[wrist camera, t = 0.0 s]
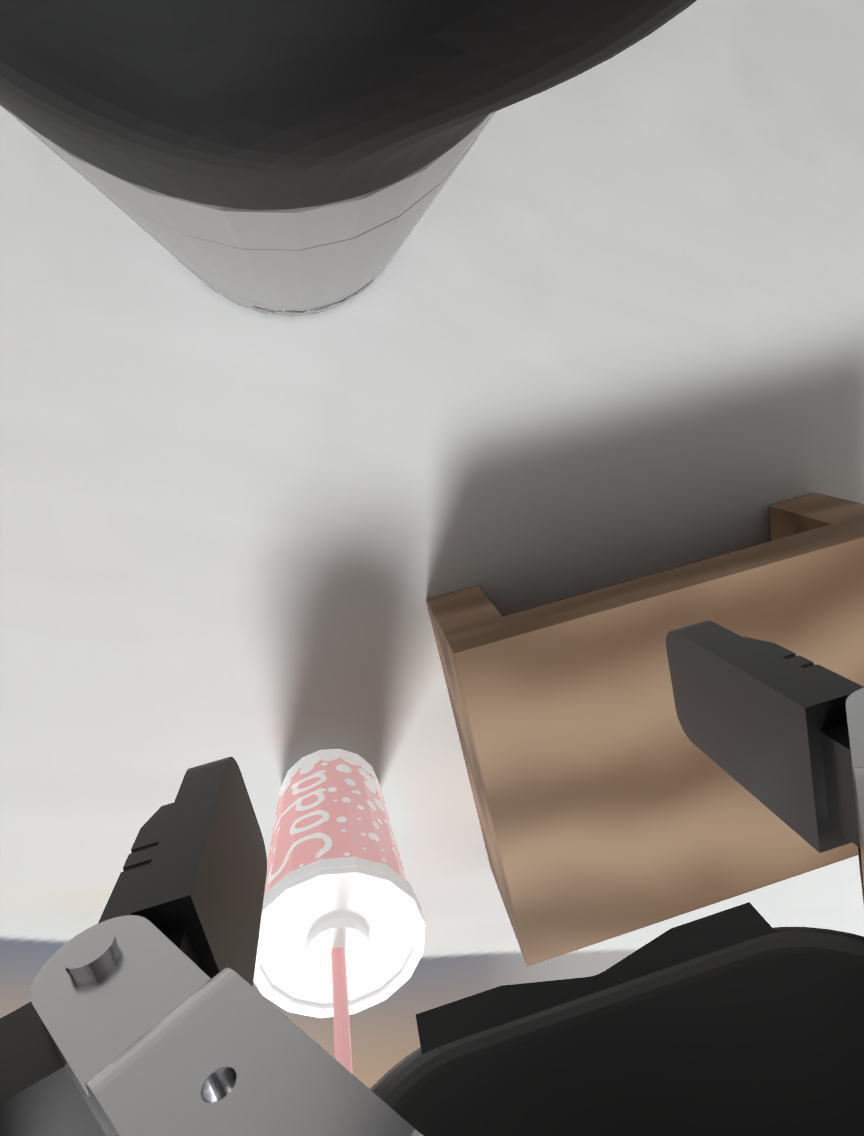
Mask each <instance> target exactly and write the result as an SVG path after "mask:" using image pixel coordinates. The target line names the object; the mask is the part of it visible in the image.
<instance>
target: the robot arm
mask: <svg viewBox="0 0 864 1136" xmlns="http://www.w3.org/2000/svg"><path fill="white" fill-rule="evenodd" d="M695 1H696V0H0V105H1V106H2V107H3V108H4V109H5V110H6V111H7V112H9V113H10V114H11V115H12V116H13V117H14V118H15V119H17V120H18V121H19V122H20V123H21V124H22V125H23V126H25V127H26V128H27V129H28V130H29V131H30V132H32V133H33V134H34V135H35V136H36V137H37V138H38V139H40V140H41V141H42V142H43V143H44V144H45V145H46V146H48V147H49V148H50V149H51V150H52V151H53V152H54V153H56V154H57V155H58V156H59V157H60V158H61V159H63V160H64V161H65V162H66V163H67V164H68V165H69V166H71V167H72V168H73V169H74V170H75V171H77V172H78V173H80V174H81V175H82V176H83V177H84V178H85V179H87V180H88V181H89V182H90V183H91V184H92V185H93V186H95V187H96V188H97V189H98V190H99V191H100V192H101V193H103V194H104V195H105V196H106V197H107V198H108V199H109V200H111V201H112V202H113V203H114V204H115V205H116V206H117V207H119V208H120V209H121V210H122V211H123V212H124V213H125V214H127V215H128V216H129V217H130V218H131V219H132V220H133V221H135V222H136V223H137V224H138V225H139V226H140V227H141V228H143V229H144V230H145V231H146V232H147V233H148V234H149V235H151V236H152V237H153V238H154V239H155V240H156V241H157V242H159V243H160V244H161V245H162V246H163V247H164V248H165V249H167V250H168V251H169V252H170V253H171V254H172V255H173V256H175V257H176V258H177V259H178V260H179V261H180V262H181V263H182V264H183V265H185V266H186V267H187V268H188V269H190V270H191V271H192V272H193V273H195V274H196V275H197V276H198V277H199V278H200V279H202V280H203V281H204V282H205V283H206V284H207V285H208V286H210V287H211V288H212V289H213V290H214V291H216V292H218V293H220V294H221V295H223V296H225V297H226V298H228V299H230V300H232V301H233V302H235V303H237V304H239V305H242V306H245V307H248V308H251V309H254V310H256V311H259V312H262V313H267V314H276V315H285V316H297V315H307V314H316V313H319V312H322V311H325V310H328V309H331V308H334V307H337V306H339V305H342V304H343V303H345V302H346V301H348V300H350V299H351V298H353V297H354V296H356V295H358V294H359V293H361V292H362V291H363V290H364V289H365V288H366V287H367V286H368V285H370V284H371V283H372V282H373V280H374V279H375V278H376V277H377V276H378V275H379V274H380V273H381V272H382V271H383V269H384V268H385V266H386V265H387V263H388V262H389V261H390V259H391V258H392V257H393V256H394V254H395V253H396V252H397V250H398V249H399V247H400V246H401V245H402V243H403V242H404V240H405V239H406V238H407V236H408V235H409V233H410V232H411V231H412V229H413V228H414V226H415V225H416V224H417V222H418V221H419V219H420V218H421V217H422V215H423V214H424V212H425V211H426V210H427V208H428V207H429V205H430V204H431V203H432V201H433V200H434V198H435V197H436V196H437V194H438V193H439V191H440V190H441V189H442V187H443V186H444V184H445V183H446V182H447V180H448V179H449V177H450V176H451V175H452V173H453V172H454V170H455V169H456V168H457V166H458V165H459V163H460V162H461V161H462V159H463V158H464V156H465V155H466V154H467V152H468V151H469V149H470V148H471V147H472V145H473V144H474V142H475V141H476V140H477V138H478V136H479V134H480V133H481V132H482V130H483V129H484V127H485V126H486V125H487V123H488V122H489V120H490V119H491V117H492V116H493V115H494V113H495V112H496V111H498V110H500V109H502V108H505V107H507V106H510V105H512V104H514V103H517V102H519V101H522V100H524V99H526V98H529V97H531V96H534V95H536V94H538V93H541V92H543V91H545V90H547V89H549V88H552V87H554V86H556V85H558V84H560V83H562V82H565V81H567V80H569V79H571V78H573V77H575V76H577V75H579V74H581V73H583V72H585V71H587V70H589V69H591V68H593V67H595V66H596V65H598V64H600V63H602V62H604V61H606V60H608V59H610V58H612V57H613V56H615V55H617V54H618V53H620V52H622V51H623V50H625V49H627V48H628V47H630V46H631V45H633V44H635V43H636V42H638V41H640V40H641V39H643V38H645V37H646V36H648V35H649V34H651V33H652V32H654V31H655V30H656V29H658V28H659V27H661V26H662V25H664V24H665V23H666V22H668V21H669V20H671V19H672V18H673V17H675V16H676V15H678V14H679V13H680V12H682V11H683V10H685V9H686V8H688V7H689V6H690V5H691V4H693V3H694V2H695ZM666 650H667V656H668V663H669V669H670V676H671V682H672V688H673V695H674V701H675V708H676V713H677V716H678V719H679V722H680V724H681V727H682V729H683V731H684V732H685V734H686V735H687V737H688V738H689V740H690V741H691V742H692V743H693V744H694V745H695V746H697V747H698V748H699V749H700V750H701V751H702V752H704V753H705V754H706V755H707V756H708V757H709V758H710V759H712V760H713V761H714V762H715V763H716V764H717V765H719V766H720V767H721V768H722V769H723V770H724V771H725V772H727V773H728V774H729V775H730V776H731V777H732V778H734V779H735V780H736V781H737V782H738V783H739V784H741V785H742V786H743V787H744V788H745V789H746V790H747V791H749V792H750V793H751V794H752V795H753V796H754V797H756V798H757V799H758V800H759V801H760V802H761V803H762V804H764V805H765V806H766V807H767V808H768V809H769V810H771V811H772V812H773V813H774V814H775V815H776V816H777V817H779V818H780V819H781V820H782V821H783V822H784V823H786V824H787V825H788V826H789V827H790V828H791V829H792V830H794V831H795V832H796V833H797V834H798V835H799V836H801V837H802V838H803V839H804V840H805V841H806V842H807V843H809V844H810V845H811V846H812V847H813V848H814V849H816V850H817V851H818V852H819V853H822V852H825V851H828V850H831V849H834V848H837V847H840V846H843V845H846V844H849V843H852V842H853V843H854V844H855V845H856V846H858V855H859V866H860V876H861V886H862V895H863V904H864V687H863V686H861V685H859V684H857V683H855V682H853V681H851V680H849V679H847V678H845V677H843V676H841V675H839V674H837V673H835V672H833V671H831V670H829V669H826V668H824V667H822V666H820V665H818V664H817V665H814V663H813V662H812V661H810V660H808V659H806V658H804V657H802V656H800V655H799V656H796V654H795V653H794V652H792V651H790V650H788V649H786V648H783V647H781V646H779V645H777V644H775V643H772V642H768V641H763V640H758V639H753V638H748V637H742V636H740V635H738V634H736V633H734V632H732V631H730V630H728V629H726V628H724V627H722V626H720V625H718V624H716V623H714V622H712V621H708V620H707V621H704V622H700V623H697V624H693V625H690V626H686V627H683V628H679V629H676V630H672V631H670V632H668V634H667V637H666ZM131 851H132V853H131V854H129V856H128V858H127V860H126V862H125V865H124V867H123V870H124V872H121V874H120V876H119V878H118V880H117V882H116V885H115V887H114V889H113V891H112V894H111V896H110V898H109V900H108V903H107V905H106V907H105V909H104V912H103V914H102V916H101V918H100V920H99V923H98V924H96V925H94V926H92V927H90V928H88V929H87V930H85V931H83V932H82V933H80V934H78V935H77V936H75V937H74V938H72V939H71V940H70V941H68V942H67V943H66V944H64V945H63V946H62V947H61V948H60V949H59V950H57V951H56V952H55V953H54V954H53V955H52V956H51V957H50V958H49V959H48V961H47V962H46V963H45V964H44V965H43V967H42V968H41V970H40V971H39V973H38V974H37V975H36V977H35V980H34V982H33V984H32V987H31V991H30V999H31V1002H29V1003H28V1004H26V1005H24V1006H22V1007H21V1008H19V1009H17V1010H16V1011H14V1012H12V1013H10V1014H8V1015H6V1016H4V1017H2V1018H1V1019H0V1136H864V937H862V936H859V935H855V934H851V933H846V932H840V931H834V930H829V929H820V928H809V927H777V928H772V927H771V926H770V925H769V924H768V923H767V922H766V920H765V919H764V918H763V917H762V916H761V915H760V914H759V913H758V911H757V910H756V909H755V908H754V907H753V906H752V905H751V904H750V902H749V903H746V904H743V905H740V906H737V907H734V908H731V909H728V910H725V911H722V912H719V913H716V914H713V915H710V916H707V917H704V918H701V919H698V920H695V921H692V922H689V923H686V924H683V925H680V926H678V927H675V928H672V929H670V930H668V931H666V932H665V933H663V934H662V935H660V936H659V937H657V938H656V939H654V940H652V941H651V942H649V943H648V944H646V945H645V946H643V947H642V948H640V949H638V950H637V951H635V952H634V953H632V954H631V955H629V956H628V957H626V958H624V959H623V960H621V961H620V962H618V963H617V964H615V965H613V966H612V967H610V968H609V969H607V970H606V971H604V972H602V973H600V974H598V975H595V976H591V977H585V978H575V979H566V980H555V981H545V982H536V983H527V984H526V983H525V984H515V985H505V986H500V987H496V988H494V989H491V990H488V991H485V992H482V993H479V994H476V995H473V996H470V997H467V998H464V999H461V1000H458V1001H455V1002H452V1003H449V1004H446V1005H443V1006H440V1007H437V1008H434V1009H431V1010H428V1011H425V1012H422V1013H419V1014H416V1019H417V1025H418V1032H419V1038H420V1045H421V1047H420V1048H418V1049H417V1050H415V1051H414V1052H412V1053H411V1054H409V1055H408V1056H406V1057H405V1058H404V1059H403V1060H401V1061H400V1062H399V1063H398V1064H396V1065H395V1066H394V1067H393V1068H391V1069H390V1070H389V1071H388V1072H387V1073H386V1074H385V1075H384V1076H383V1077H382V1078H381V1079H380V1080H379V1081H378V1082H377V1083H376V1084H375V1085H374V1086H373V1087H372V1088H371V1089H369V1088H368V1087H367V1086H365V1085H364V1084H363V1083H362V1082H361V1081H360V1080H359V1079H357V1078H356V1077H355V1076H354V1075H353V1074H352V1073H351V1072H349V1071H348V1070H347V1069H346V1068H345V1067H344V1066H343V1065H341V1064H340V1063H339V1062H338V1061H337V1060H336V1059H335V1058H333V1057H332V1056H331V1055H330V1054H329V1053H328V1052H327V1051H325V1050H324V1049H323V1048H322V1047H321V1046H320V1045H319V1044H317V1043H316V1042H315V1041H314V1040H313V1039H312V1038H311V1037H309V1036H308V1035H307V1034H306V1033H305V1032H304V1031H303V1030H301V1029H300V1028H299V1027H298V1026H297V1025H296V1024H295V1023H293V1022H292V1021H291V1020H290V1019H289V1018H288V1017H287V1016H285V1015H284V1014H283V1013H282V1012H281V1011H280V1010H279V1009H277V1008H276V1007H275V1006H274V1005H273V1004H272V1003H271V1002H270V1001H268V1000H267V999H266V998H265V997H264V996H263V995H262V994H260V993H259V992H258V991H257V990H256V989H255V988H254V987H253V981H254V973H255V964H256V956H257V948H258V940H259V932H260V924H261V916H262V908H263V900H264V892H265V883H266V875H267V858H266V851H265V845H264V841H263V837H262V833H261V830H260V827H259V824H258V821H257V819H256V816H255V813H254V810H253V807H252V804H251V801H250V798H249V795H248V792H247V789H246V786H245V783H244V780H243V777H242V774H241V772H240V769H239V766H238V764H237V762H236V761H235V759H234V758H233V757H228V758H225V759H221V760H218V761H214V762H211V763H207V764H204V765H200V766H197V767H194V768H190V769H188V770H187V772H186V774H185V776H184V779H183V781H182V784H181V787H180V789H179V792H178V794H177V797H176V799H175V802H174V803H171V804H168V805H165V806H161V807H160V808H159V810H158V811H157V812H156V813H155V814H154V815H153V816H152V817H151V818H150V819H149V820H148V821H147V822H146V823H145V824H144V825H143V826H142V828H141V829H140V831H139V833H138V836H137V838H136V840H135V842H134V844H133V847H132V849H131Z"/></svg>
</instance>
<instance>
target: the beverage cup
mask: <svg viewBox="0 0 864 1136" xmlns="http://www.w3.org/2000/svg"><path fill="white" fill-rule="evenodd" d="M424 941H425V920H424V917H423V915H422V913H421V906H420V904H419V902H418V900H417V898H416V896H415V894H414V891H413V889H412V887H411V885H410V883H409V882H408V881H406V877H405V874H404V870H403V867H402V863H401V860H400V856H399V852H398V849H397V845H396V842H395V838H394V835H393V831H392V827H391V824H390V820H389V817H388V813H387V810H386V806H385V802H384V799H383V795H382V792H381V788H380V785H379V781H378V779H377V777H376V774H375V772H374V770H373V768H372V766H371V765H370V764H369V763H368V762H367V761H365V760H364V759H363V758H362V757H361V756H359V755H358V754H355V753H352V752H349V751H345V750H342V749H328V750H319V751H316V752H314V753H312V754H309V755H307V756H304V757H302V758H301V759H300V760H299V761H298V762H297V763H296V764H295V765H293V766H292V767H291V768H290V769H289V770H288V772H287V774H286V776H285V778H284V780H283V783H282V785H281V787H280V793H279V799H278V805H277V810H276V816H275V822H274V827H273V833H272V839H271V845H270V850H269V856H268V862H267V875H266V883H265V892H264V900H263V908H262V916H261V924H260V932H259V940H258V948H257V956H256V964H255V973H254V983H255V984H256V986H257V987H258V989H259V991H260V992H261V994H262V995H263V996H264V997H265V998H267V999H269V1000H270V1001H272V1002H273V1003H275V1004H276V1005H278V1006H280V1007H281V1008H283V1009H284V1010H286V1011H287V1012H291V1013H296V1014H302V1015H307V1016H312V1017H317V1018H325V1017H333V1016H334V1039H335V1059H336V1060H337V1061H338V1062H339V1063H340V1064H341V1065H343V1066H344V1067H345V1068H346V1069H347V1070H348V1071H349V1072H351V1073H352V1074H353V1070H352V1054H351V1038H350V1022H349V1014H355V1013H357V1012H360V1011H362V1010H364V1009H367V1008H369V1007H371V1006H373V1005H376V1004H378V1003H380V1002H382V1001H385V1000H386V999H387V998H389V997H390V996H391V995H392V994H393V993H394V992H395V991H396V990H398V989H399V988H400V987H401V986H402V985H403V984H404V983H405V982H407V980H409V979H410V977H411V976H412V974H413V972H414V969H415V968H416V966H417V964H418V962H419V960H420V958H421V957H422V955H423V953H424Z"/></svg>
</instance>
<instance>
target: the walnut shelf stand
mask: <svg viewBox="0 0 864 1136" xmlns="http://www.w3.org/2000/svg"><path fill="white" fill-rule="evenodd" d="M769 518H770V533H771V541H770V542H766V543H762V544H759V545H755V546H752V547H748V548H745V549H741V550H737V551H734V552H730V553H727V554H723V555H720V556H716V557H713V558H709V559H705V560H702V561H698V562H695V563H691V564H688V565H684V566H680V567H677V568H673V569H670V570H666V571H663V572H659V573H655V574H652V575H648V576H645V577H641V578H638V579H634V580H631V581H627V582H623V583H620V584H616V585H613V586H609V587H606V588H602V589H598V590H595V591H591V592H588V593H584V594H581V595H577V596H573V597H570V598H566V599H563V600H559V601H556V602H552V603H549V604H545V605H541V606H538V607H534V608H531V609H527V610H524V611H520V612H516V613H513V614H509V615H506V616H502V615H501V614H500V612H499V611H498V610H497V609H496V607H495V606H494V605H493V604H492V602H491V601H490V600H489V599H488V597H487V596H486V595H485V594H484V592H483V591H482V590H481V589H480V587H479V586H475V587H471V588H467V589H464V590H460V591H456V592H453V593H449V594H446V595H442V596H438V597H435V598H431V599H427V600H426V601H427V605H428V610H429V614H430V618H431V622H432V626H433V630H434V634H435V639H436V643H437V647H438V651H439V655H440V659H441V663H442V668H443V672H444V676H445V680H446V684H447V688H448V693H449V697H450V701H451V705H452V709H453V713H454V717H455V722H456V726H457V730H458V734H459V738H460V742H461V746H462V751H463V755H464V759H465V763H466V767H467V771H468V775H469V780H470V784H471V788H472V792H473V796H474V800H475V804H476V809H477V813H478V817H479V821H480V825H481V829H482V833H483V838H484V842H485V846H486V850H487V854H488V858H489V862H490V867H491V870H492V872H493V875H494V878H495V881H496V883H497V886H498V889H499V891H500V894H501V897H502V900H503V902H504V905H505V908H506V911H507V913H508V916H509V919H510V921H511V924H512V927H513V930H514V932H515V935H516V938H517V940H518V943H519V946H520V949H521V951H522V954H523V957H524V959H525V962H526V965H527V966H530V965H533V964H536V963H539V962H542V961H545V960H548V959H551V958H554V957H557V956H560V955H563V954H566V953H569V952H572V951H575V950H578V949H581V948H584V947H587V946H590V945H593V944H596V943H599V942H601V941H604V940H607V939H610V938H613V937H616V936H619V935H622V934H625V933H628V932H631V931H634V930H637V929H640V928H643V927H646V926H649V925H652V924H655V923H658V922H661V921H664V920H667V919H670V918H673V917H676V916H678V915H681V914H684V913H687V912H690V911H693V910H696V909H699V908H702V907H705V906H708V905H711V904H714V903H717V902H720V901H723V900H726V899H729V898H732V897H735V896H738V895H741V894H744V893H747V892H750V891H753V890H755V889H758V888H761V887H764V886H767V885H770V884H773V883H776V882H779V881H782V880H785V879H788V878H791V877H794V876H797V875H800V874H803V873H806V872H809V871H812V870H815V869H818V868H821V867H824V866H827V865H830V864H832V863H835V862H838V861H841V860H844V859H847V858H850V857H853V856H856V855H858V846H856V845H855V844H854V843H853V842H852V843H849V844H846V845H843V846H840V847H837V848H834V849H831V850H828V851H825V852H822V853H819V852H818V851H817V850H816V849H814V848H813V847H812V846H811V845H810V844H809V843H807V842H806V841H805V840H804V839H803V838H802V837H801V836H799V835H798V834H797V833H796V832H795V831H794V830H792V829H791V828H790V827H789V826H788V825H787V824H786V823H784V822H783V821H782V820H781V819H780V818H779V817H777V816H776V815H775V814H774V813H773V812H772V811H771V810H769V809H768V808H767V807H766V806H765V805H764V804H762V803H761V802H760V801H759V800H758V799H757V798H756V797H754V796H753V795H752V794H751V793H750V792H749V791H747V790H746V789H745V788H744V787H743V786H742V785H741V784H739V783H738V782H737V781H736V780H735V779H734V778H732V777H731V776H730V775H729V774H728V773H727V772H725V771H724V770H723V769H722V768H721V767H720V766H719V765H717V764H716V763H715V762H714V761H713V760H712V759H710V758H709V757H708V756H707V755H706V754H705V753H704V752H702V751H701V750H700V749H699V748H698V747H697V746H695V745H694V744H693V743H692V742H691V741H690V740H689V738H688V737H687V735H686V734H685V732H684V731H683V729H682V727H681V724H680V722H679V719H678V716H677V713H676V708H675V701H674V695H673V688H672V682H671V676H670V669H669V663H668V656H667V650H666V637H667V634H668V632H670V631H672V630H676V629H679V628H683V627H686V626H690V625H693V624H697V623H700V622H704V621H707V620H708V621H712V622H714V623H716V624H718V625H720V626H722V627H724V628H726V629H728V630H730V631H732V632H734V633H736V634H738V635H740V636H742V637H748V638H753V639H758V640H763V641H768V642H772V643H775V644H777V645H779V646H781V647H783V648H786V649H788V650H790V651H792V652H794V653H795V654H796V656H799V655H800V656H802V657H804V658H806V659H808V660H810V661H812V662H813V663H814V665H817V664H818V665H820V666H822V667H824V668H826V669H829V670H831V671H833V672H835V673H837V674H839V675H841V676H843V677H845V678H847V679H849V680H851V681H853V682H855V683H857V684H859V685H861V686H863V687H864V504H860V503H856V502H851V501H847V500H843V499H839V498H834V497H830V496H826V495H822V494H817V493H813V494H810V495H806V496H803V497H799V498H795V499H792V500H788V501H784V502H781V503H777V504H773V505H770V506H769Z"/></svg>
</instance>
